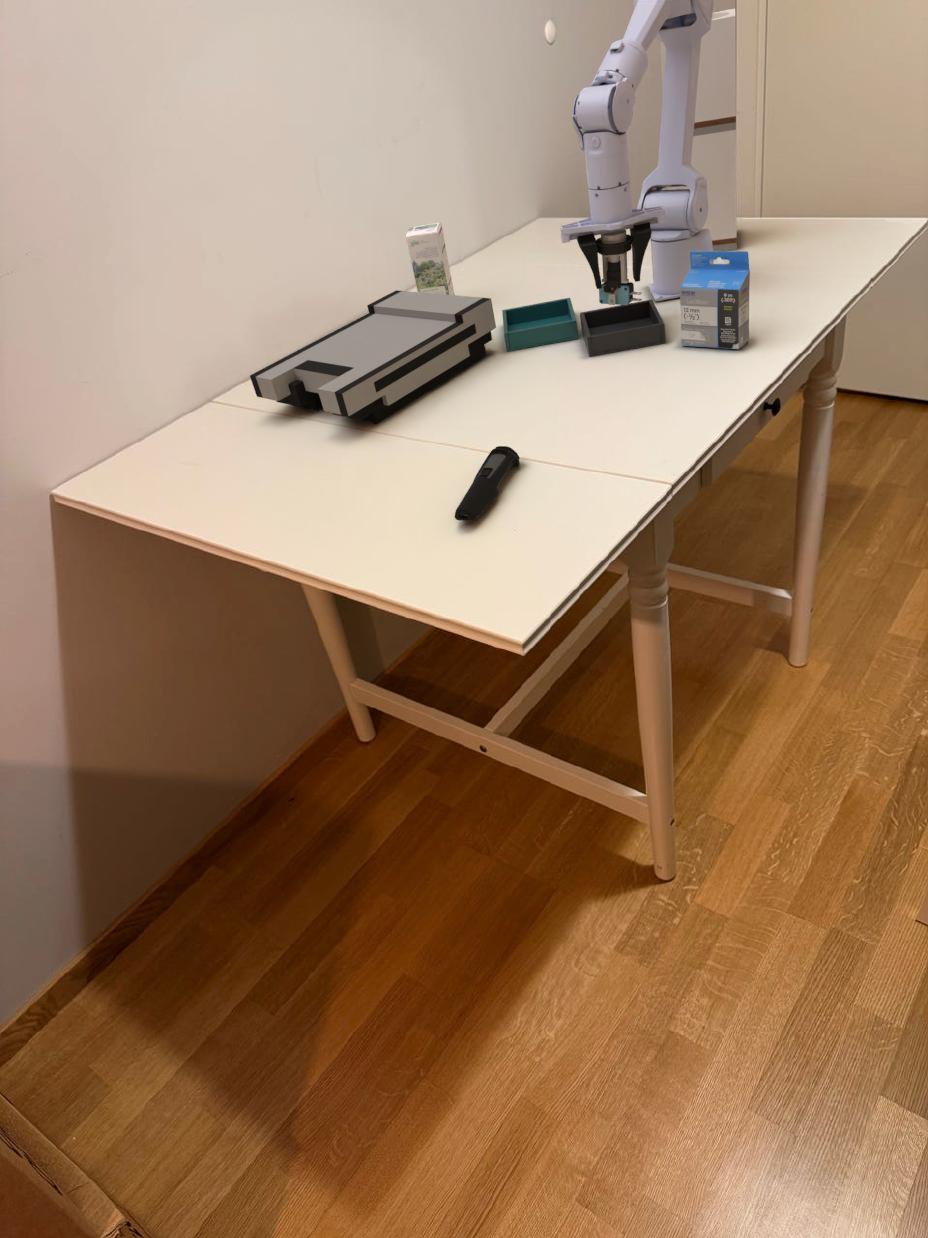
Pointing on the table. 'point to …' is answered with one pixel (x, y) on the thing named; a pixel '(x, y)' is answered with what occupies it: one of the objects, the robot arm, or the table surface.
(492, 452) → the electric trimmer
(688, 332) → the label tape box
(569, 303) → the box
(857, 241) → the table surface
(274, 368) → the game console
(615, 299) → the push button
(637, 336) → the right tote
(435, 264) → the syrup box
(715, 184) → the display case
